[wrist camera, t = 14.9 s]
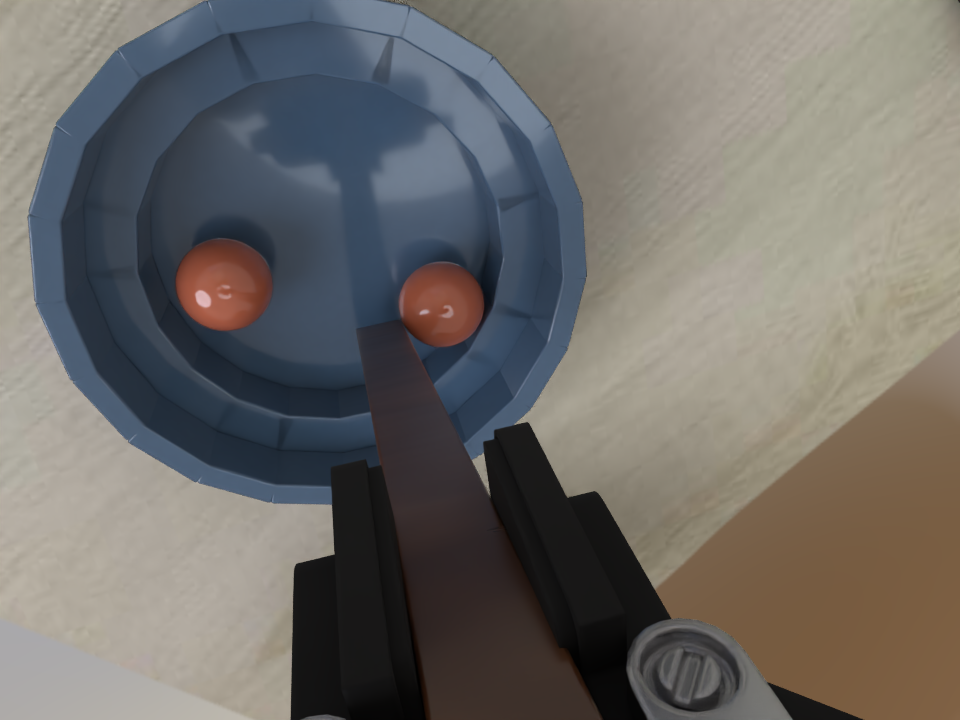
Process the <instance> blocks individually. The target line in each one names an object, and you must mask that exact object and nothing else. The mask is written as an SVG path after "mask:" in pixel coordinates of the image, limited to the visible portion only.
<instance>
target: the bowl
mask: <svg viewBox="0 0 960 720" xmlns="http://www.w3.org/2000/svg"><path fill="white" fill-rule="evenodd" d="M581 200H582V198H581V195H580V193H579V190H578V188H577V185H576V183H575V180H574V178H573V175H572V173H571V170H570V168H569V165H568V163H567V160H566V158H565V155H564V153H563V150H562V148H561V145H560V143H559V140H558V138H557V135H556V133H555V130H554V128H553V125H552V124H551V122H550V121H549V120H548V118H547V117H546V116H545V115H544V114H543V113H542V111H541V110H540V109H539V108H538V107H537V105H536V104H535V103H534V102H533V101H532V100H531V98H530V97H529V96H528V95H527V94H526V93H525V91H524V90H523V89H522V88H521V87H520V86H519V84H518V83H517V82H516V81H515V80H514V78H513V77H512V76H511V75H510V74H509V73H508V71H507V70H506V69H505V68H504V67H503V66H502V64H501V63H500V62H499V61H498V60H497V59H496V57H494V56H493V55H492V54H491V53H489V52H488V51H486V50H484V49H482V48H481V47H479V46H477V45H476V44H474V43H472V42H471V41H469V40H467V39H466V38H464V37H462V36H461V35H459V34H457V33H456V32H454V31H452V30H451V29H449V28H447V27H446V26H444V25H442V24H440V23H439V22H437V21H435V20H434V19H432V18H430V17H429V16H427V15H425V14H424V13H422V12H420V11H419V10H417V9H415V8H414V7H411V6H409V5H405V4H400V3H396V2H391V1H386V0H205V1H203V2H201V3H199V4H197V5H196V6H194V7H192V8H190V9H188V10H186V11H185V12H183V13H181V14H179V15H177V16H176V17H174V18H172V19H170V20H168V21H166V22H165V23H163V24H161V25H159V26H157V27H155V28H154V29H152V30H150V31H148V32H146V33H145V34H143V35H141V36H139V37H137V38H135V39H134V40H132V41H130V42H128V43H126V44H125V45H123V46H121V47H119V48H118V50H116V51H115V52H114V53H113V54H112V55H111V56H110V58H109V59H108V60H107V61H106V63H105V64H104V65H103V66H102V67H101V69H100V70H99V71H98V72H97V74H96V75H95V76H94V77H93V78H92V80H91V81H90V82H89V83H88V84H87V86H86V87H85V88H84V89H83V91H82V92H81V93H80V94H79V95H78V97H77V98H76V99H75V100H74V102H73V103H72V104H71V105H70V106H69V108H68V109H67V110H66V111H65V112H64V114H63V115H62V116H61V117H60V119H59V120H58V121H57V122H56V126H55V127H54V129H53V132H52V135H51V139H50V142H49V145H48V148H47V152H46V155H45V158H44V162H43V165H42V168H41V171H40V175H39V178H38V181H37V184H36V188H35V191H34V194H33V197H32V201H31V204H30V207H29V215H28V227H29V239H30V251H31V264H32V276H33V288H34V300H35V302H36V307H37V309H38V311H39V313H40V315H41V317H42V320H43V322H44V324H45V326H46V328H47V330H48V333H49V335H50V337H51V339H52V341H53V343H54V346H55V348H56V350H57V352H58V354H59V356H60V359H61V361H62V363H63V365H64V367H65V369H66V372H67V374H68V376H69V378H70V380H73V383H74V384H75V385H76V386H77V388H78V389H79V390H80V391H81V392H82V393H83V394H84V395H85V396H86V397H87V398H88V399H89V400H90V402H91V403H92V404H93V405H94V406H95V407H96V408H97V409H98V410H99V411H100V412H101V413H102V414H103V415H104V417H105V418H106V419H107V420H108V421H109V422H110V423H111V424H112V425H113V426H114V427H115V428H116V429H117V431H118V432H119V433H120V434H121V435H122V436H123V437H124V438H125V439H126V440H128V442H129V443H130V444H132V445H133V446H135V447H137V448H138V449H140V450H142V451H143V452H145V453H147V454H148V455H150V456H152V457H153V458H155V459H157V460H159V461H160V462H162V463H164V464H165V465H167V466H169V467H170V468H172V469H174V470H175V471H177V472H179V473H180V474H182V475H184V476H186V477H187V478H189V479H191V480H192V481H194V482H197V481H198V483H200V484H204V485H208V486H211V487H215V488H218V489H222V490H226V491H229V492H233V493H236V494H240V495H243V496H247V497H251V498H254V499H258V500H261V501H265V502H272V503H280V504H329V505H332V491H331V467H333V466H337V465H342V464H346V463H350V462H355V461H359V460H363V459H366V461H367V464H368V467H369V468H370V467H375V466H379V465H380V462H379V456H378V451H377V445H376V440H375V434H374V429H373V423H372V418H371V412H370V406H369V401H368V395H367V390H366V384H365V379H364V373H363V368H362V362H361V357H360V351H359V345H358V340H357V334H356V329H357V328H361V327H366V326H371V325H375V324H380V323H385V322H389V321H394V320H401V319H400V315H399V310H398V298H399V293H400V290H401V287H402V285H403V283H404V281H405V280H406V278H407V277H408V276H409V275H410V274H411V273H412V272H413V271H414V270H415V269H417V268H418V267H420V266H422V265H424V264H426V263H429V262H434V261H449V262H453V263H456V264H458V265H461V266H463V267H464V268H466V269H467V270H468V271H470V272H471V273H472V274H473V275H474V276H475V278H476V279H477V280H478V282H479V284H480V286H481V288H482V291H483V294H484V300H485V309H484V315H483V318H482V321H481V323H480V325H479V327H478V328H477V330H476V331H475V333H474V334H473V335H472V336H471V337H470V338H468V339H467V340H465V341H464V342H462V343H460V344H458V345H455V346H452V347H446V348H437V347H431V346H428V345H425V344H423V343H421V342H419V341H418V340H416V339H415V338H414V337H413V336H411V335H410V334H409V332H408V331H407V330H406V328H405V327H404V328H405V330H406V332H407V334H408V336H409V338H410V340H411V342H412V344H413V346H414V348H415V350H416V352H417V354H418V356H419V358H420V360H421V362H422V363H423V365H424V367H425V369H426V371H427V373H428V375H429V377H430V379H431V381H432V383H433V385H434V387H435V389H436V391H437V393H438V395H439V397H440V399H441V401H442V403H443V405H444V407H445V409H446V411H447V413H448V415H449V417H450V419H451V421H452V422H453V424H454V426H455V428H456V430H457V432H458V434H459V436H460V438H461V440H462V442H463V444H464V446H465V448H466V450H467V452H468V454H469V456H470V458H471V460H472V459H474V458H476V457H478V456H479V455H481V454H482V453H483V452H484V448H483V442H484V441H488V440H492V439H494V430H495V429H499V428H504V427H508V426H512V425H514V424H515V423H516V422H517V421H518V420H519V419H521V418H522V417H523V416H524V415H525V414H526V413H527V412H528V411H529V410H530V409H531V408H532V407H533V405H534V403H535V402H536V400H537V399H538V397H539V395H540V394H541V392H542V390H543V389H544V387H545V385H546V384H547V382H548V381H549V379H550V377H551V376H552V374H553V372H554V371H555V369H556V368H557V366H558V364H559V363H560V361H561V359H562V358H563V356H564V354H565V353H566V351H567V349H568V348H567V347H568V346H569V342H570V339H571V335H572V331H573V327H574V323H575V319H576V315H577V312H578V308H579V304H580V300H581V296H582V292H583V288H584V285H585V281H586V278H585V277H587V270H586V253H585V235H584V218H583V202H582V201H581ZM218 237H226V238H234V239H237V240H240V241H243V242H245V243H247V244H249V245H251V246H252V247H254V248H255V249H256V250H257V251H258V252H259V253H260V254H261V255H262V256H263V257H264V258H265V260H266V261H267V263H268V265H269V267H270V269H271V272H272V275H273V281H274V292H273V297H272V300H271V303H270V305H269V307H268V309H267V311H266V312H265V313H264V314H263V316H262V317H261V318H260V319H259V320H257V321H256V322H255V323H253V324H252V325H250V326H248V327H246V328H243V329H240V330H236V331H229V332H224V331H215V330H211V329H208V328H206V327H203V326H202V325H200V324H198V323H196V322H195V321H194V320H192V319H191V318H190V317H189V316H188V315H187V314H186V313H185V312H184V310H183V309H182V307H181V305H180V304H179V302H178V299H177V296H176V292H175V284H174V280H175V273H176V269H177V267H178V264H179V262H180V260H181V259H182V257H183V256H184V255H185V254H186V252H187V251H188V250H190V249H191V248H192V247H193V246H195V245H196V244H198V243H200V242H202V241H205V240H208V239H211V238H218ZM401 322H402V321H401ZM402 324H403V323H402ZM403 326H404V325H403Z"/></svg>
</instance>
